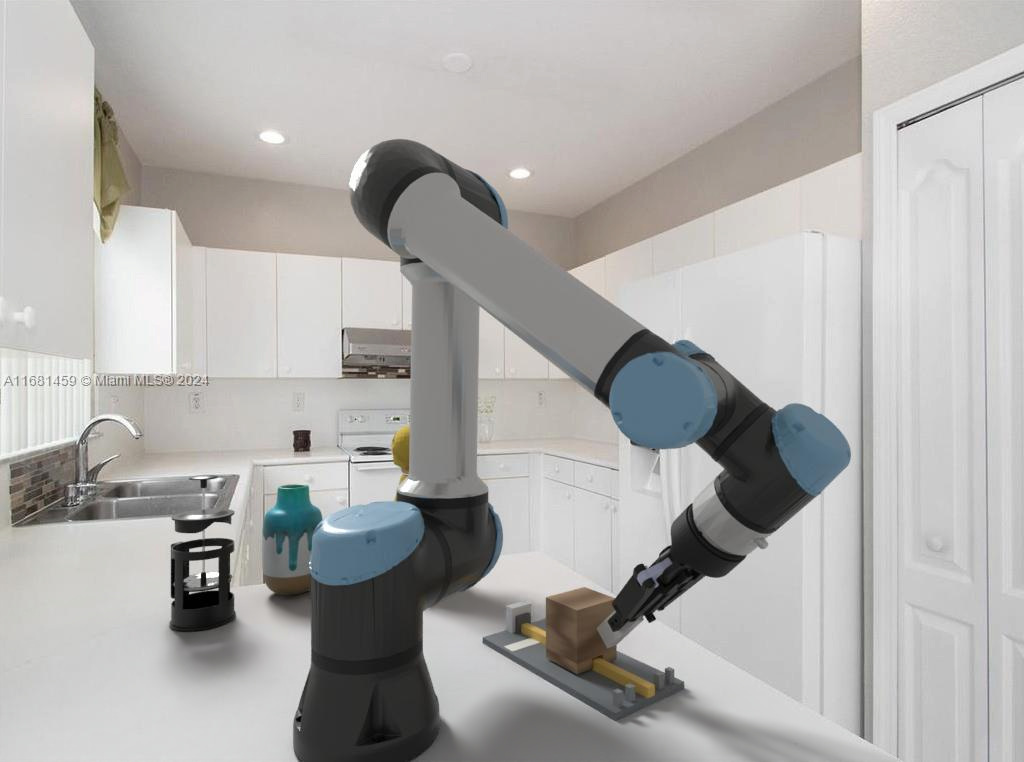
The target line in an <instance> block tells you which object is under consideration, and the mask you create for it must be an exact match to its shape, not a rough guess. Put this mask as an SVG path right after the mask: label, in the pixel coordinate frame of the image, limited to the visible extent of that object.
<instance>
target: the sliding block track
mask: <svg viewBox="0 0 1024 762" xmlns="http://www.w3.org/2000/svg"><path fill="white" fill-rule="evenodd" d="M482 644H484V645H485V646H487V647H489V648H491V649H492V650H494V651H496V652H498V653H499V654H501V655H503V656H504V657H506V658H508V659H510V660H511V661H513V662H514V663H516V664H518V665H520V666H522V667H523V668H525V669H527V670H529V671H530V672H531V673H533V674H535V675H537V676H538V677H540V678H542V679H543V680H545V681H547V682H549V683H551V684H552V685H554V686H556V687H558V688H559V689H561V691H564V692H566V693H568V694H569V695H571V696H573V697H574V698H576V699H577V700H580V701H581V702H583V703H585V704H586V705H588V706H590V707H591V708H593V709H594V710H596V711H598V712H600V713H602V714H603V715H605V716H607V717H608V718H610V719H611V720H613V721H618V720H619V719H622V718H624V717H626V716H628V715H630V714H632V713H635V712H638V711H639V710H641V709H643V708H645V707H648V706H651V704H654V703H656V702H658V701H660V700H662V699H665V698H667V697H668V696H671V695H673V694H675V693H679V691H681V690H684V689H685V681H684V680H682V679H679V678H677V677H675V669H674V668H673V667H670V666H667V667H665V668H664V671H662V670H660V669H658V668H655V667H653V666H650V665H649V664H646V663H645V662H643V661H640V660H638V659H635V658H633V656H629V655H627V654H625V653H623V652H621V651H618V650H617V659H616V660H614V661H611V662H607V661H605V660H603V659H601V658H599V657H595V658H592V669H590V670H588V671H585V672H582V673H580V674H575V673H573V672H572V671H570V670H568V669H566V668H564V667H562V666H561V665H559V664H557V663H555V662H553V661H551V660H549V659H548V658H546V618H543V619H538V620H536V621H533V622H532V602H529V601H527V600H523V601H519V602H515V603H512V604H507V605H506V606H505V630H503V631H499V632H496V633H492V634H489V635H486V636H482Z"/></svg>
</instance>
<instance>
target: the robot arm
mask: <svg viewBox="0 0 1024 762" xmlns="http://www.w3.org/2000/svg"><path fill="white" fill-rule="evenodd" d="M349 200H350V204H351V207H352V210H353V213H354V215H355V217H356V218H357V220H358V223H360V225H361V226H362V227H363V228H364V229H365V230H366V231H367V232H368V233H370V235H372V236H373V237H375V238H376V239H378V240H379V241H380V242H381V243H383V244H384V245H385V246H387V247H388V248H389V249H391V250H392V252H394V253H395V254H397V255H398V256H399V259H400V260H399V261H400V262H399V265H400V268H399V272H400V273H401V275H402V276H403V277H404V278H405V279H406V280H407V281H408V282H409V283H410V285H411V329H410V330H411V331H410V334H411V335H410V336H411V339H410V390H409V392H410V394H409V396H410V397H409V398H410V399H409V425H410V447H409V474H407V475H408V476H407V477H406V478H405V480H404V481H403V482H402V483H401V484H400V485H399V484H398V486H396V493H395V496H396V501H394V500H393V501H392V500H387V501H384V500H383V501H375V502H369V503H367V504H355V505H352V506H348V507H346V508H343V509H340V510H337V511H335V512H333V513H331V514H329V515H326V517H324V518H323V520H322V521H321V522H320V523H319V524H318V526H317V527H316V529H315V530H314V533H313V537H312V553H311V557H310V561H309V569H310V587H311V589H310V646H311V647H310V648H311V649H310V651H311V652H310V654H311V655H310V657H311V658H310V668H309V670H308V674H307V676H306V680H305V683H304V687H303V689H302V692H301V695H300V699H299V702H298V707H297V709H296V712H295V715H294V719H293V722H292V745H293V746H292V748H293V751H294V753H295V755H296V757H297V758H298V759H299V760H300V761H301V762H408V761H409V762H410V760H412V759H414V758H416V757H418V756H419V755H420V754H422V753H423V752H424V751H426V750H427V749H428V748H429V747H430V746H431V745H432V743H433V742H434V741H435V740H436V738H437V736H438V734H439V730H440V702H439V698H438V696H437V694H436V691H435V688H434V684H433V680H432V677H431V675H430V671H429V668H428V664H427V662H426V659H425V656H424V640H423V639H424V638H423V637H424V611H426V610H428V609H431V608H432V607H434V606H436V605H438V604H439V603H440V604H441V602H443V601H445V600H447V599H448V598H451V597H452V596H454V595H456V594H458V593H462V592H465V591H468V590H469V589H471V588H473V587H474V586H475V585H477V584H478V583H479V582H480V581H481V580H482V579H484V578H485V577H486V576H488V575H489V574H490V572H491V571H492V570H493V569H494V568H495V566H496V564H497V563H498V561H499V558H500V557H501V553H502V549H503V544H504V530H503V525H502V522H501V518H500V515H499V514H498V513H496V512H495V509H494V506H493V505H492V504H491V502H489V486H488V485H487V484H486V483H485V481H483V480H482V479H481V477H480V476H479V475H478V424H479V423H478V422H479V421H478V420H479V419H478V418H479V417H478V414H479V413H478V411H479V409H478V408H479V406H478V405H479V362H480V361H479V358H480V357H479V355H480V354H479V353H480V308H481V309H483V310H484V311H485V312H486V313H488V315H490V316H491V317H493V318H494V319H495V320H496V321H498V322H499V323H501V324H502V325H503V326H504V327H505V328H507V329H508V330H509V331H510V332H511V333H513V334H514V335H516V336H517V337H518V338H519V339H521V340H522V341H523V342H524V343H526V344H527V345H528V346H529V347H531V348H532V349H533V350H535V351H536V352H537V353H538V354H539V355H541V356H542V357H543V358H544V359H546V360H547V361H549V363H551V364H553V366H555V367H556V368H557V369H559V370H560V371H561V372H562V373H564V374H565V375H566V376H568V377H569V378H570V379H571V380H573V381H574V382H575V383H577V384H578V385H579V386H580V387H582V388H583V389H585V390H586V392H587V393H589V394H590V395H592V396H593V397H595V399H597V400H598V401H600V402H601V403H602V404H603V406H605V407H606V408H607V409H609V410H610V413H611V417H612V419H613V421H614V423H615V425H616V426H617V428H618V429H619V431H620V432H621V433H622V434H623V435H624V437H626V438H627V439H629V441H631V442H633V443H635V444H637V445H638V446H641V447H644V448H648V449H655V450H669V449H670V450H676V449H682V448H686V447H687V446H690V445H692V444H694V443H695V444H696V445H697V446H698V447H699V448H701V450H702V451H704V452H705V453H706V454H707V455H708V456H709V457H710V458H711V459H712V460H713V462H716V463H717V464H719V466H720V467H722V468H723V470H722V471H721V472H720V473H719V474H718V475H717V476H715V477H714V479H713V480H712V481H710V482H709V484H707V485H706V487H705V488H704V489H703V490H702V491H701V492H699V493H698V495H696V497H695V498H694V500H693V502H691V503H690V504H689V505H687V507H686V508H685V509H684V510H683V511H682V512H681V513H680V514H679V515H678V516H677V517H676V519H675V520H673V522H672V524H671V526H670V540H671V541H670V542H671V545H668V546H666V547H665V548H663V549H662V551H660V552H659V555H658V557H657V558H656V560H655V561H654V562H652V564H650V566H648V565H645V563H639V564H637V565H635V567H634V568H633V570H632V575H631V577H630V578H629V579H628V581H626V583H625V584H624V586H622V589H621V590H620V591H619V592H618V593H617V595H616V597H614V598H615V599H614V601H613V602H612V606H613V608H614V609H615V610H614V611H613V612H612V613H611V614H610V615H609V616H608V617H607V618H606V619H605V620H604V621H603V622H602V623H601V624H600V625H599V626H598V627H597V630H598V632H599V634H600V636H601V638H602V640H603V641H604V643H605V645H606V647H607V648H610V647H613V646H616V645H617V646H618V644H619V643H621V641H623V640H624V639H625V638H626V637H627V636H628V635H630V633H631V632H632V631H634V630H635V628H637V627H638V626H639V625H640V624H641V623H642V622H643V621H644V620H645V619H646V622H648V623H649V624H651V623H652V622H655V621H656V620H657V618H656V616H655V614H654V613H655V612H656V611H657V612H661V611H663V610H665V609H666V608H667V607H668V606H670V605H671V604H672V603H674V602H675V601H676V600H677V599H678V598H679V597H681V596H682V595H683V594H685V593H686V592H687V591H688V590H690V589H691V588H693V586H695V585H696V584H697V583H699V582H700V581H701V580H702V579H703V578H705V577H707V578H708V577H709V578H714V579H719V578H722V577H725V576H727V575H728V574H730V573H731V571H733V570H734V569H735V568H736V567H737V566H739V565H740V564H741V563H742V562H744V560H745V559H746V558H747V556H748V555H749V554H752V553H753V551H755V550H756V549H757V548H760V549H761V550H765V549H767V548H768V547H769V542H768V541H767V539H768V537H771V536H772V535H773V534H774V533H775V532H777V530H779V529H780V528H781V527H783V526H784V525H785V524H786V523H787V522H788V521H790V520H791V519H792V518H793V517H794V516H796V515H797V514H798V513H799V512H800V511H801V510H802V509H803V508H805V507H806V506H807V505H809V503H811V502H812V501H813V500H814V499H815V498H817V497H818V496H819V495H821V494H822V492H823V491H824V490H825V489H826V488H827V487H828V486H829V485H830V484H831V483H832V482H833V481H834V480H835V479H836V478H837V477H838V476H840V474H841V473H842V472H843V471H844V470H845V469H847V468H848V467H849V464H850V463H851V459H852V451H851V447H850V443H849V442H848V440H847V438H846V437H845V435H844V433H843V432H842V431H841V430H840V429H839V428H838V427H837V426H836V425H835V423H833V422H832V421H831V420H830V419H829V418H828V417H827V416H825V415H824V414H822V413H819V412H817V411H815V410H814V409H813V408H812V407H810V406H808V405H805V404H803V403H796V402H795V403H789V404H786V405H785V406H783V407H782V408H781V409H778V410H776V409H775V408H774V407H772V406H771V405H768V404H767V402H764V401H763V400H761V398H759V397H758V396H757V395H756V394H755V393H753V391H752V390H750V389H749V388H748V387H746V385H745V384H743V383H742V382H741V381H740V380H739V379H737V378H736V377H735V376H734V375H733V374H732V373H730V372H729V371H728V370H727V369H726V368H725V367H724V366H723V365H721V363H720V362H718V361H717V360H716V359H715V357H714V356H713V355H712V354H710V353H707V352H706V350H703V349H702V348H700V347H699V346H698V345H697V344H695V343H694V342H692V341H690V340H688V339H680V340H678V341H676V342H674V343H672V344H671V343H670V342H668V340H665V339H664V338H663V337H661V336H659V334H658V335H657V334H656V333H654V332H653V331H651V330H650V329H649V328H648V327H646V326H644V325H643V324H642V323H640V322H639V321H637V320H636V319H635V318H634V317H632V316H631V315H630V314H628V313H626V312H625V311H624V310H622V309H621V308H619V307H618V306H617V305H615V304H614V303H612V302H611V301H609V300H608V299H606V298H605V297H604V296H602V295H601V294H599V293H598V292H597V291H595V290H594V289H592V288H590V287H589V286H588V285H586V284H585V283H584V282H583V281H581V280H579V279H578V278H577V277H575V276H574V275H572V274H571V273H570V272H568V271H567V270H565V269H564V268H562V266H560V265H558V264H557V263H556V262H554V261H553V260H552V259H549V258H548V256H545V255H544V254H543V253H542V252H540V251H538V250H537V249H535V248H534V247H533V246H531V245H530V244H528V243H527V242H526V241H524V240H523V239H521V238H520V237H519V236H518V235H515V233H513V232H512V231H510V230H509V229H508V228H509V218H508V212H507V208H506V205H505V203H504V200H503V199H502V197H501V195H500V194H499V193H498V191H497V190H496V189H495V187H493V186H492V185H491V184H489V182H488V181H487V180H485V178H483V177H482V176H480V174H477V173H476V172H474V171H472V170H469V169H467V168H464V167H462V166H460V165H458V164H456V163H455V162H454V161H452V160H451V159H449V158H447V157H445V156H443V155H442V154H440V153H439V152H437V151H435V150H434V149H432V148H430V147H428V146H427V145H426V144H423V143H421V142H418V141H415V140H410V139H405V138H395V139H394V138H393V139H389V140H388V139H387V140H383V141H380V142H379V143H376V144H374V145H373V146H371V147H369V148H368V149H367V150H366V151H365V152H364V153H363V154H362V155H361V156H360V158H359V159H358V161H357V162H356V163H355V165H354V168H353V170H352V172H351V176H350V181H349ZM644 618H645V619H644Z"/></svg>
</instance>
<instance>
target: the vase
mask: <svg viewBox="0 0 1024 762" xmlns="http://www.w3.org/2000/svg"><path fill="white" fill-rule="evenodd" d="M276 495H277V496H276V502H275V505H274V507H272V508H270V509H269V510H268V511H267V512H266V513H265V515H264V518H263V522H262V523H263V524H262V528H261V529H262V531H261V567H262V577H263V580H264V581H263V582H265V585H266V587H267V588H268V589H269V590H270V592H273V593H275V594H278V595H283V596H287V595H288V596H289V595H298V594H302V593H305V592H308V591H309V590H310V591H311V587H310V569H309V561H310V557H311V553H312V537H313V533H314V530H315V529H316V527H317V526H318V524H319V523H320V522H321V521H322V520H323V519H324V518H323V515H322V511H321V509H320V508H319V507H317V506H316V505H314V504H312V502H311V498H310V486H309V484H304V483H292V484H289V483H288V484H283V485H279V486H278V487H277V493H276Z"/></svg>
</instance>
